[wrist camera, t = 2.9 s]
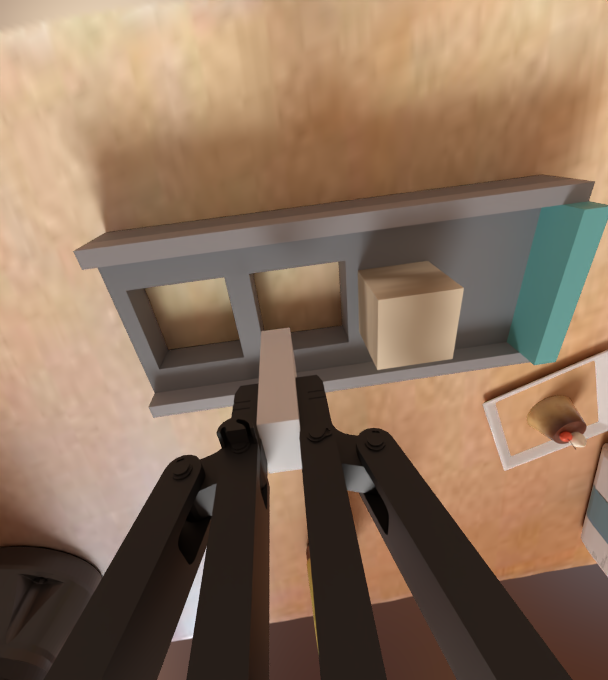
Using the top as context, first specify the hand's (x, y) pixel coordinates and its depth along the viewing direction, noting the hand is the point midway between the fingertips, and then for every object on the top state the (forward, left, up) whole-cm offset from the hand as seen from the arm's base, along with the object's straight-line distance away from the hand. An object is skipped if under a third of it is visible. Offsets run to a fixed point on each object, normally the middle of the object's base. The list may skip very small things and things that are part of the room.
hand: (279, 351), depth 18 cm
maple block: (+8, 0, -5) cm, 9 cm away
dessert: (+25, -17, -8) cm, 31 cm away
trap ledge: (+4, 0, -7) cm, 8 cm away
